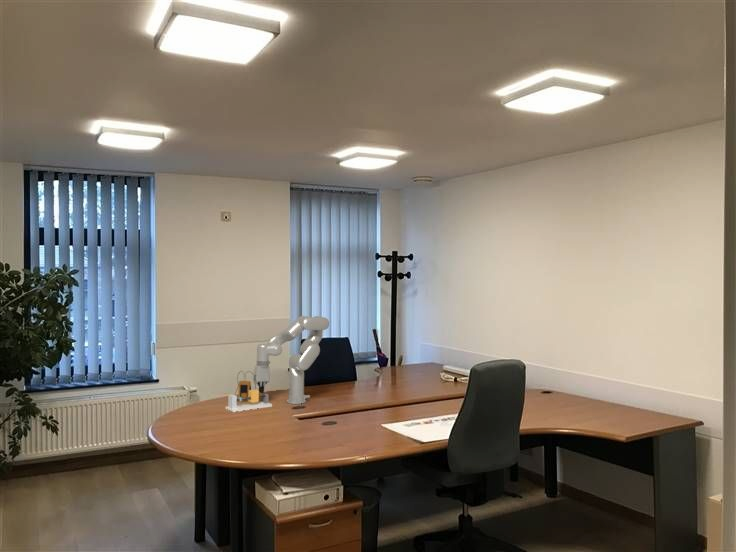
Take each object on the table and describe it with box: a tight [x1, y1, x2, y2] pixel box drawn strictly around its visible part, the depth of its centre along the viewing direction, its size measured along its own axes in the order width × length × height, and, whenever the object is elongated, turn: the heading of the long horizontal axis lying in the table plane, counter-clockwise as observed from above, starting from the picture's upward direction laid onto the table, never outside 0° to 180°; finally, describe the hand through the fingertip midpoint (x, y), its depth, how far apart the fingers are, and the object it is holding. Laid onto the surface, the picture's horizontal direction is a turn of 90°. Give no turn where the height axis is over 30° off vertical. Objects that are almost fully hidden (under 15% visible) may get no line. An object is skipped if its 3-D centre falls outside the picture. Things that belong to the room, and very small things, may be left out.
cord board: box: [225, 393, 273, 413], centre depth 364 cm, size 27×10×9 cm, turn 130°
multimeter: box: [234, 370, 257, 402], centre depth 386 cm, size 15×10×20 cm
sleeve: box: [247, 389, 260, 403], centre depth 366 cm, size 5×4×7 cm
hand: (261, 392), depth 370 cm, fingers closed
